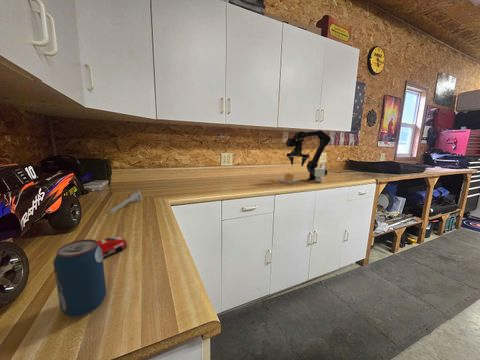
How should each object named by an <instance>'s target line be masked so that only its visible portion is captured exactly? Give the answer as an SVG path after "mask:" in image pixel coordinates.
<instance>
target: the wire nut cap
mask: <svg viewBox="0 0 480 360" xmlns="http://www.w3.org/2000/svg"><path fill="white" fill-rule="evenodd" d="M283 179H284V180H286V181H293V180H294V174H293V173H291V172H290V173H289V172H288V173H285V174H284V178H283Z"/></svg>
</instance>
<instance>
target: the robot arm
mask: <svg viewBox="0 0 480 360" xmlns="http://www.w3.org/2000/svg"><path fill="white" fill-rule="evenodd" d="M315 136H317V138H318V139H319V142H318V143H319V145H318V146H317V149H316V151H315V153H314V155H313V157H312V159H311V160H308V159H310V157H311V156H310V154H309V153H307V154H306V153H303V152H302V151H303V150H304V148H303V142H306V140H305V139H304V138H308V137H315ZM331 140H332V138H331V136H330V135H328V133H326V132H324V131H323V130H321V129H319V130H314V131H313V130H312V131H311V130H310V131H303V130H301V131H299V130H298V131H296V132H295V133H294V136H293V137H291V138H290V137H288V138H287V139H286V141H285V147H288V148H289V147H291V148H293V150H291V151H290V152H287V153H286V157H287V158H288V159H289V161H290V164H291V166H293V165H294V159H295V157H299V158H301V165H300V166H301V167H303V166H304V164H305V163H306V161H307V160H308V162H307V164H306V169H307V172H308V173H309V178H307V180H310V181H315V178H316V177H317V176H313V174H312V169H314V168H318V166H319V165H318V164H319V163H318V162H319V160H320V158H321V156H322V154H323V152H324V151H325V148H326V147H327V146H328V145H329V144H330V142H331Z"/></svg>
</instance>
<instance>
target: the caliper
mask: <svg viewBox="0 0 480 360" xmlns="http://www.w3.org/2000/svg"><path fill="white" fill-rule="evenodd" d="M134 191H135V192H134V193H132V194H131V195H129V197H128V198H126V199H125V200H123V201H121V202H120V203H118V204H117V205H115V206H114V207H112V208H111V209H109V211H108V212H107V214H112V213H115V212H116V211H118V210H120V209H121V208H122V207H124V206H125V205H127V204H128V203H130V202H131V203H133V202H134V201H136V202H140V201H142V193H141V191H140V190H139V188H138V189H136V190H134Z"/></svg>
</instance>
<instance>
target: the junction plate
mask: <svg viewBox="0 0 480 360" xmlns="http://www.w3.org/2000/svg"><path fill="white" fill-rule="evenodd" d="M284 179H285V178H281V179H277V182H280V183H284V184H285V183H286V184H290V185H291V184H296V183H300V182H301V181H300V180H298V179H297V180H296V179H293V181H286V180H284Z"/></svg>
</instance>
